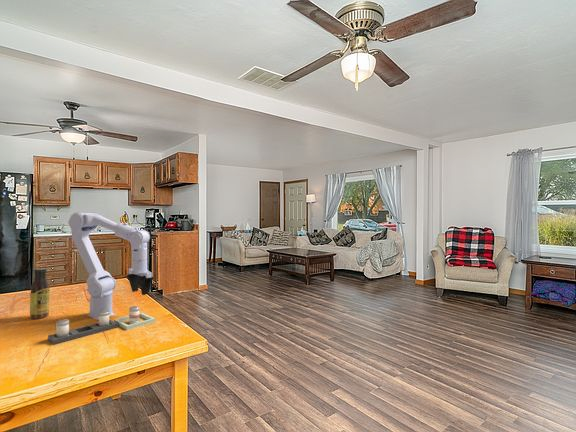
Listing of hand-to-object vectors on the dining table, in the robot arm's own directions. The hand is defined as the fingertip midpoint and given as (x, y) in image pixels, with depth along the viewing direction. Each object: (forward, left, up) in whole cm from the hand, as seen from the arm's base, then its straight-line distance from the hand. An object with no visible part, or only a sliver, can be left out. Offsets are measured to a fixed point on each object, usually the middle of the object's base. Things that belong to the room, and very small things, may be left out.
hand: (139, 292), depth 132 cm
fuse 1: (+2, -28, -10) cm, 29 cm away
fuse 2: (+2, -15, -10) cm, 18 cm away
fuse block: (+2, -21, -10) cm, 24 cm away
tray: (+5, -5, -10) cm, 12 cm away
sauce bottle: (-32, -26, -11) cm, 43 cm away
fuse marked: (+5, -5, -10) cm, 12 cm away
